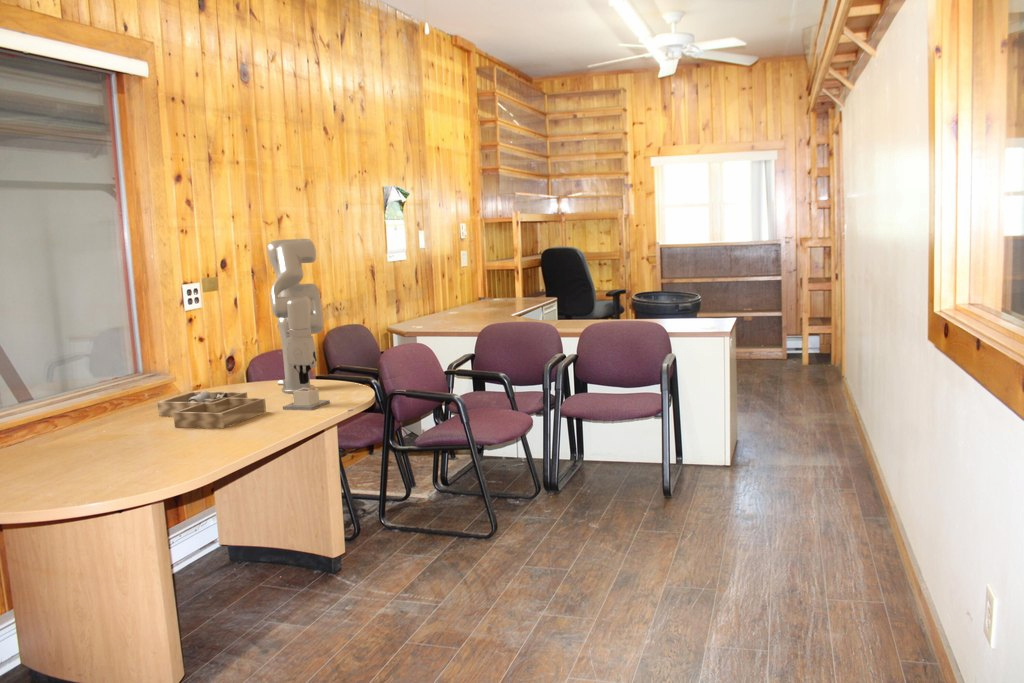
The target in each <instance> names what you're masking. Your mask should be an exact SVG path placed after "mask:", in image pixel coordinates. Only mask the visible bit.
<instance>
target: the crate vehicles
mask: <svg viewBox="0 0 1024 683" xmlns="http://www.w3.org/2000/svg"><path fill="white" fill-rule="evenodd" d="M223 399H226V398H217V399H214V400H211V401H208V402H205V403H213V402H216V401H220V400H223ZM205 403H201V404H198V405H195V406H192V407H189V408H186V409H183V410H180V411H176V412H173V415H174V416H173V422H174V428H189V429H190V428H191V429H215V428H217V429H218V428H219V429H218V430H221V429H225V427H226V428H228V427H231V426H234V425H236V424H239V423H241V422H245V421H247V420H249V418H250V419H252V418H255V417H258V416H260V415H262V414H265V412H266V413H267V408H266V399H265V398H264V397H263V398H262V397H261V398H260V397H247V398H229V406H230V410H227V411H225V412H222V413H206V410H205ZM257 415H258V416H257ZM233 424H234V425H233ZM230 425H231V426H230ZM217 429H216V430H217Z"/></svg>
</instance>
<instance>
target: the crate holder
mask: <svg viewBox="0 0 1024 683" xmlns="http://www.w3.org/2000/svg"><path fill="white" fill-rule="evenodd" d="M201 392H202V391H191V392H187V393H184V394H181V395H177V396H174V397H171V398H166V399H163V400H160V401H157V411H158V416H159V417H174V415H173V412H176V411H180V410H183V409H186V408H189V407H192V406H195V405H198V404H201V402H188V401H189V399H190V398H191V397H193V396H197V395H199V394H200V393H201ZM208 392H209V394H210V397H209V399H213V400H214V398H215V397H216V394H217V393H218V394H219V395H223V394H225V393H227V395H226V399H223V400H220V401H216V402H213V403H205V402H206V401H205V402H204V403H205V410H206V413H222V412H225V411H227V410H230V406H229V398H248V392H247V391H245V392H244V391H243V392H240V391H239V392H238V391H208Z"/></svg>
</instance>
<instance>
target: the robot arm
mask: <svg viewBox="0 0 1024 683" xmlns="http://www.w3.org/2000/svg"><path fill="white" fill-rule="evenodd" d="M266 250H267V251H266V252H267V257H268V260H269V262H270V264H271V267H272V268H273V270H274V274H275V276H276V280H275V281H274V283H273V284H272V285H271V289H270V293H269V294H270V296H269V297H270V305H271V312H272V314H273V316H274V317H276V318H277V327H278V331H279V335H280V339H281V340H280V341H281V347H282V348H281V350H282V358H283V359H282V360H283V369H284V370H283V371H284V379H280V380H278V382H277V385H278V386H283V388H282V389H281V391H282V392H283V393H284V394H293V391H296V390H298V389H301V388H310V387H315V385H314V384H311V377H310V371H311V369H314V368H317V366H318V365H317V361H318V356H317V348H316V344H315V340H314V336H312V335H315V334H320V333H321V332H323V330H324V316H323V308H322V299H321V293H320V290H319V288H318V286H317V284H315V283H300V282H301V281H303V278H304V272H303V265H302V264H312V263H314V262H315V261H316V259H317V250H316V246H315V244H314V242H313V241H312V240H311V239H310V238H293V239H292V238H291V239H290V238H289V239H277V240H273V241H270V242H269V243H268V244H267V246H266Z"/></svg>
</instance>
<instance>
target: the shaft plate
mask: <svg viewBox="0 0 1024 683" xmlns="http://www.w3.org/2000/svg"><path fill="white" fill-rule="evenodd" d="M305 391H309V390H305ZM330 402H331V401H330V399H319V402H317V403H315V404H312V405H294V402H291V403H289V404H286V405H283V406H282V410H294V411H296V410H297V411H298V410H301V411H313V410H315V409H318V408H320V407H323V406H326V405H328V404H331V403H330Z"/></svg>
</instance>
